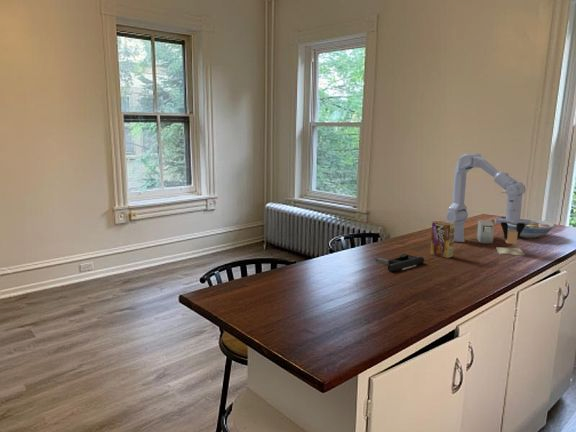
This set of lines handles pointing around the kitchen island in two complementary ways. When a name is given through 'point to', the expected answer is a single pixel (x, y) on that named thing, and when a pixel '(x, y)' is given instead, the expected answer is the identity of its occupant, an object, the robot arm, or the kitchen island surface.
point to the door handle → (401, 262)
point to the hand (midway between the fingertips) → (511, 239)
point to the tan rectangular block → (511, 236)
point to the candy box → (442, 238)
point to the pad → (510, 251)
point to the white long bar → (487, 228)
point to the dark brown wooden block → (485, 236)
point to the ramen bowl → (533, 228)
